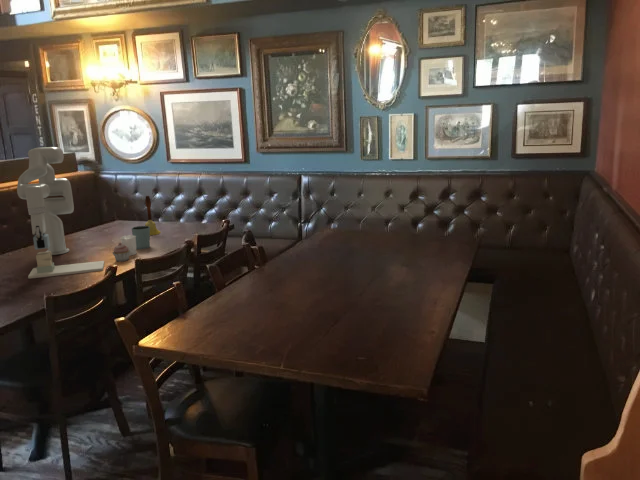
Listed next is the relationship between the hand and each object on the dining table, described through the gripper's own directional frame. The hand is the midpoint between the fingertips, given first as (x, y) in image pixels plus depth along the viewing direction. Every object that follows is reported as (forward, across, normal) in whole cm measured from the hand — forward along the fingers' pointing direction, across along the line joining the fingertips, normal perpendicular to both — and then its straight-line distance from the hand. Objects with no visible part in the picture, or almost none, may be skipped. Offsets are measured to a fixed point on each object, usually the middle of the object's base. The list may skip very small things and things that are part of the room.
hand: (42, 246), depth 267 cm
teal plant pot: (+14, -35, +47) cm, 60 cm away
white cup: (+14, -21, +40) cm, 47 cm away
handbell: (+14, -72, +53) cm, 91 cm away
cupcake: (+14, -9, +36) cm, 40 cm away
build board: (+14, 0, +10) cm, 17 cm away
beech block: (+10, 0, 0) cm, 10 cm away
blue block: (+1, 0, 0) cm, 1 cm away
